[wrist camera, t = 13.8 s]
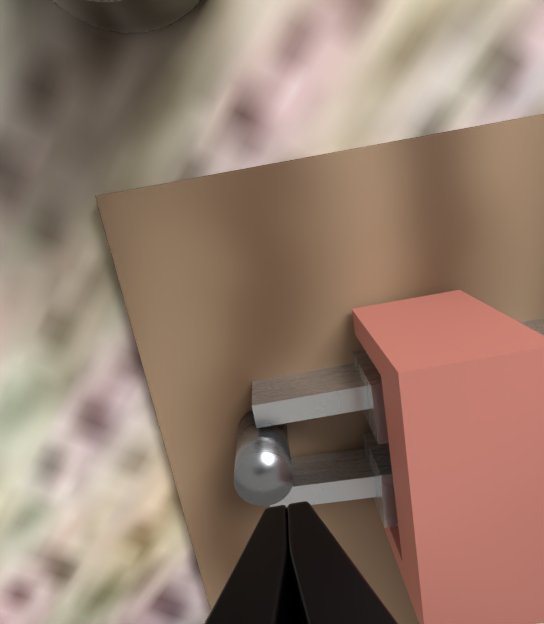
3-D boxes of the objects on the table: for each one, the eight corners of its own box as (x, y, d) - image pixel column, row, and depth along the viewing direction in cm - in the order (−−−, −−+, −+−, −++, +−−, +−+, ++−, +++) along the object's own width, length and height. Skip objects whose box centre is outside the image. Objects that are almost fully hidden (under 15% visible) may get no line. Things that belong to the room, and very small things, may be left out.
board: (687, 88, 16) (709, 83, 15) (648, 575, 22) (662, 590, 21) (103, 195, 16) (95, 196, 15) (226, 645, 22) (224, 661, 22)
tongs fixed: (648, 297, 17) (746, 327, 14) (642, 386, 18) (732, 435, 15) (223, 371, 17) (215, 419, 14) (242, 455, 19) (239, 519, 15)
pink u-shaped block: (459, 289, 17) (559, 344, 11) (471, 493, 19) (557, 620, 14) (351, 308, 17) (398, 372, 11) (377, 509, 19) (426, 641, 14)
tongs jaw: (645, 389, 18) (731, 436, 15) (638, 445, 19) (718, 502, 16) (263, 437, 18) (264, 493, 15) (270, 491, 19) (273, 557, 16)
